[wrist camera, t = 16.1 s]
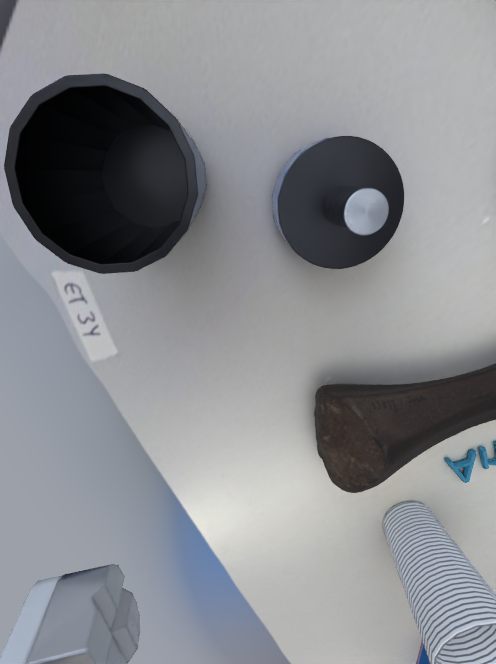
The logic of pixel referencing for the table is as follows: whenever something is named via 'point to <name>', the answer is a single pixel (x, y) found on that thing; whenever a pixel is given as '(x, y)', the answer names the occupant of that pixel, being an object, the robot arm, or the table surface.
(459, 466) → the nameplate
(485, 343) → the table surface
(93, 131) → the pot
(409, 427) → the dark brown bone
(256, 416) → the table surface
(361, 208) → the lid
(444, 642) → the cup
